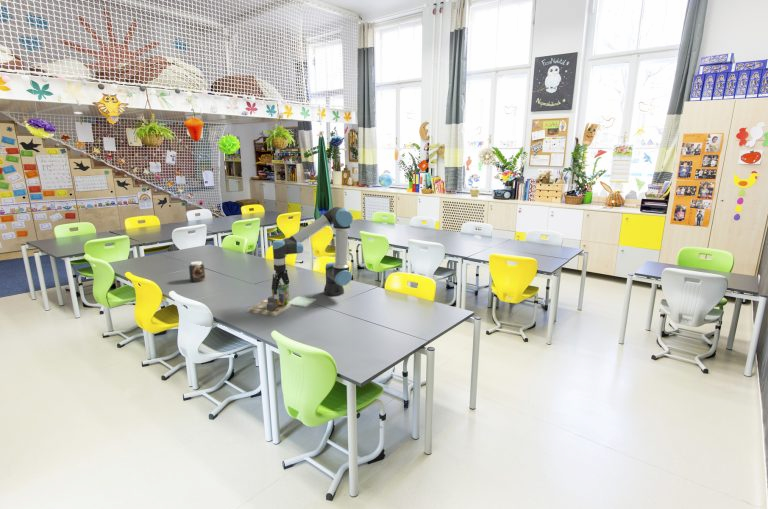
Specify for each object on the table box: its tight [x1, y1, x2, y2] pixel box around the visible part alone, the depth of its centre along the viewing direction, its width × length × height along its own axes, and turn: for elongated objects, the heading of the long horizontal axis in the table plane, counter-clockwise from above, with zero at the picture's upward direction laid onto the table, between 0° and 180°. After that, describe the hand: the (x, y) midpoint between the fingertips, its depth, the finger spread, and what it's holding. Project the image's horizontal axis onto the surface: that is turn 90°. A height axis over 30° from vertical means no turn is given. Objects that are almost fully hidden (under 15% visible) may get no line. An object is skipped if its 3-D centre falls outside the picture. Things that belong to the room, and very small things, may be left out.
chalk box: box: [271, 280, 291, 305], centre depth 271 cm, size 9×9×15 cm
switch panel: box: [247, 299, 292, 317], centre depth 271 cm, size 20×19×2 cm
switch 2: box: [267, 302, 276, 311], centre depth 263 cm, size 4×4×4 cm
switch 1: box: [267, 295, 273, 303], centre depth 275 cm, size 4×4×4 cm
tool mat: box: [288, 296, 317, 308], centre depth 284 cm, size 15×15×1 cm
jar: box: [188, 260, 206, 283], centre depth 330 cm, size 12×12×15 cm
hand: (281, 296), depth 271 cm, fingers closed on chalk box, 10 cm apart
